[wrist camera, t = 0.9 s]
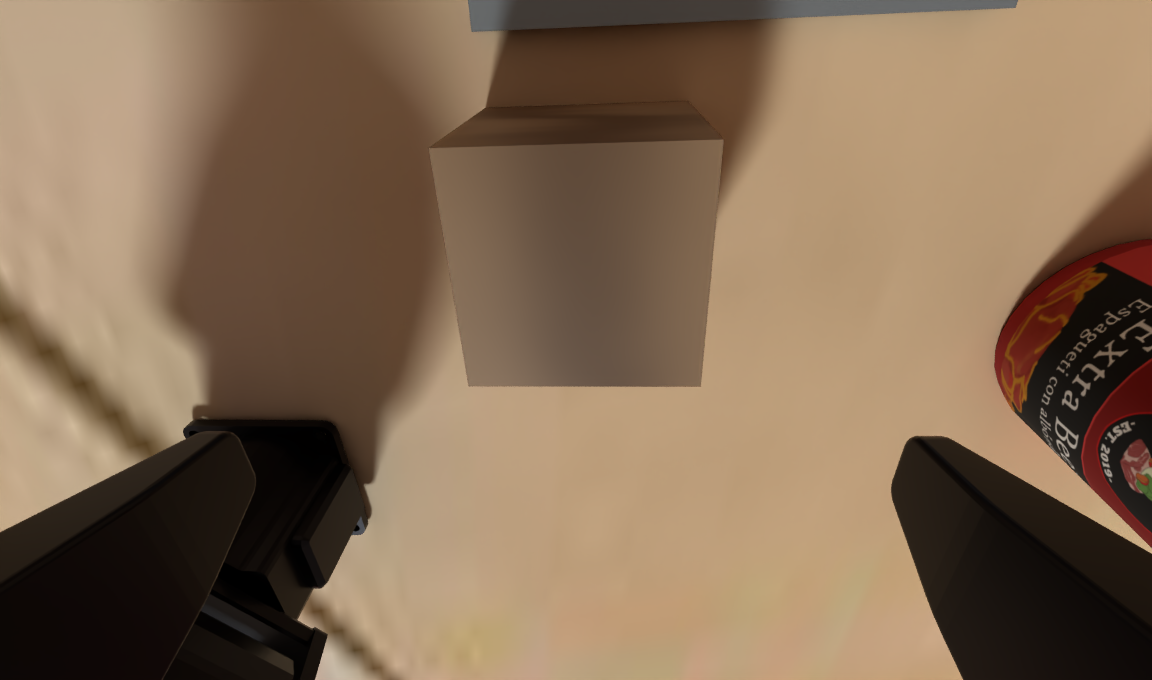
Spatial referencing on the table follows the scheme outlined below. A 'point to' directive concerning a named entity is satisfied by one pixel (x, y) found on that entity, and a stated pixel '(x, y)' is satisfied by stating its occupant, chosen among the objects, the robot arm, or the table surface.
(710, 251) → the walnut cube
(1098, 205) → the table surface
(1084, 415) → the canned food
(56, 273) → the table surface
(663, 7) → the slate mat
